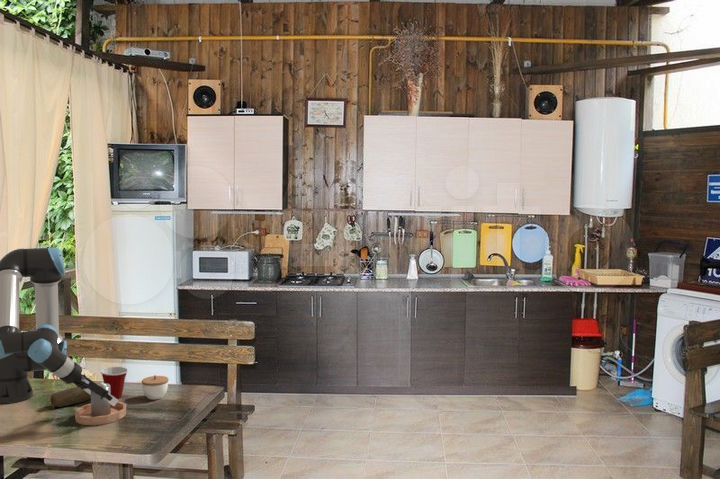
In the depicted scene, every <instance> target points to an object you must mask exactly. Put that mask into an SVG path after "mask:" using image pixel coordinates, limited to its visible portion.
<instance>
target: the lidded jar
mask: <svg viewBox="0 0 720 479" xmlns="http://www.w3.org/2000/svg"><path fill="white" fill-rule="evenodd" d="M141 387H142V392H143V394H144V396H145V397H147V399H148V400H151V401H153V400H160V399H162V398H163V397H164V395H166V393H167V392H168V388H169V378H168V377H167V376H165V375H155V374H154V375H152V376H148V377H145V378H143V379H141Z"/></svg>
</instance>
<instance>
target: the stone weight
mask: <svg viewBox="0 0 720 479" xmlns="http://www.w3.org/2000/svg"><path fill="white" fill-rule="evenodd" d="M49 400H50V404H51V406H52V407H53V408H60V407H61V408H62V407H68V406H71V405H76V404H77V405H78V404H80V403H83V402H86V401H89V400H91V395H90V394H88V393H87V392H86V391H84V389H81V388H80V387H77V386H76V387H72V388H68V389H64V390H60V391H57V392H55V393H53V394H51V395H50V399H49Z"/></svg>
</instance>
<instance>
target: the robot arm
mask: <svg viewBox="0 0 720 479" xmlns="http://www.w3.org/2000/svg"><path fill="white" fill-rule="evenodd" d="M64 276H66V268H65V262H64V256H63V251H62V249H60V248H57V247H36V248H35V247H34V248H17V249H14V250H11V251H9V252H8V253H6V254H5V255H4V256H3V257H2V258H1V259H0V405H1V404H4V405H5V403H6V404H14V402H15V403H20V402H23V401H26V400H28V399H31V398H32V397H33V396H34V389H33V387H32V385H31V382H30V380H29V376H28V373H30V372H40V371H48V372H50V373H51V376H52V377H56V378H58V379H59V380H61V381H62V382H63V383H64V384H67V385H71V384H74V385H75V386H76V387H80V388H81V389H84V391H86V392H87V393H88V394H90V395H91V391H93V392H94V393H96V394H98V395H99V396H101V399H104V400H105V401H107V402H108V403H109V404H111V405H112V406H115V405H116V403H117V402H118V401H119V398H118V399H116V398H115V397H114V396H112V395H111V394H110V393H109V392H108V391H107V390H105V389H103V388H102V387H100V386H99V385H97V384H98V383H95V381H93V380H92V379H90V378H89V377H87V375H85V374H83V373H82V372H83V368H82V366H81V365H80V364H79V363H77V362H75V361H74V360H73V359H72V358H70V357H69V356H68V355H67V348H68V347H67V346H68V343H67V340H64V337H63V336H62V335H60V323H59V321H60V319H59V317H60V316H59V283H60V282H61V281H62V280H63V278H62V277H64ZM23 278H29V279H30V282H31V283H32V284H34V305H35V309H34V310H35V330H27V331H20V284H21V282H22V281H23ZM19 401H20V402H19Z"/></svg>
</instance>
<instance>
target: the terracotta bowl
mask: <svg viewBox="0 0 720 479" xmlns="http://www.w3.org/2000/svg"><path fill="white" fill-rule="evenodd" d="M126 416H127V404H126V403H124V402H122V401H119V400H118V402H117V403H116V405H115V406H112V405H111V414H109V415H105V416H97V417H92V416H91V403H88V404H84V405H81V406H80V407H78V408H76V409H75V412H74V418H75V422H76V423H77V424H79V425H83V426H102V425H109V424H111V423H114V422H118V421H119V420H122V419H123V418H125V417H126Z"/></svg>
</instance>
